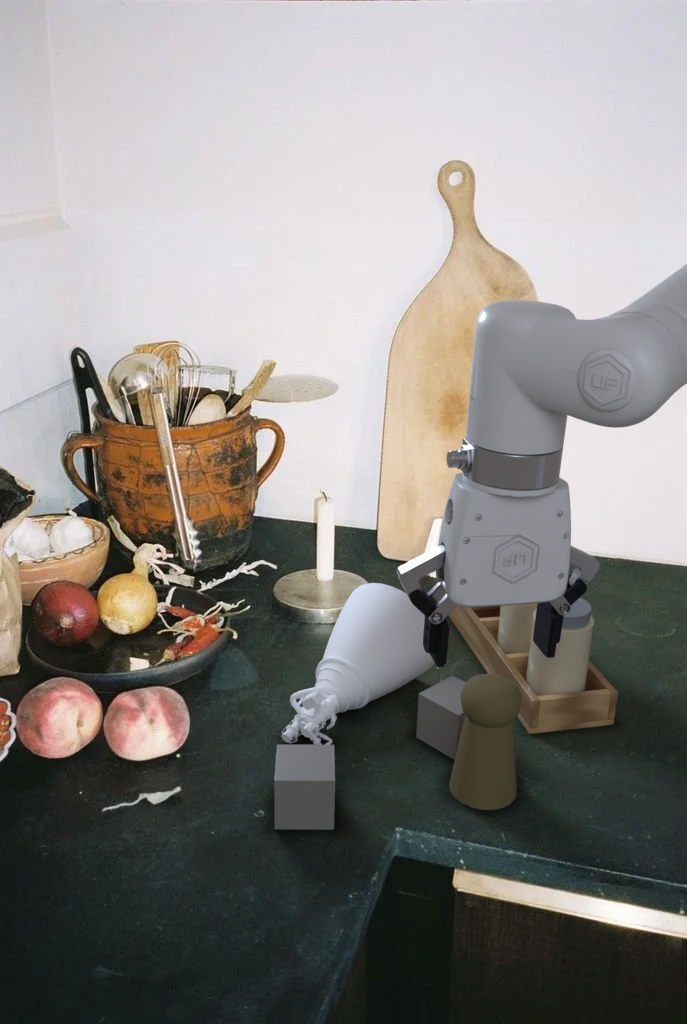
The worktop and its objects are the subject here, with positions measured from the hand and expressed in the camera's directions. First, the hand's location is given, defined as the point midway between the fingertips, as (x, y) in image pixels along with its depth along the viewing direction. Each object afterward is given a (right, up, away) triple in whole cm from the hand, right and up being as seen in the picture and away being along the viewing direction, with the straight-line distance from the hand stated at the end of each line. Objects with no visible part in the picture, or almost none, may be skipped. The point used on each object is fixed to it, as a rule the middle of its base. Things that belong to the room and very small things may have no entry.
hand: (490, 654), depth 80 cm
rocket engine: (-13, -8, +17) cm, 23 cm away
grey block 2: (-2, -10, +12) cm, 16 cm away
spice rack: (+8, -5, +25) cm, 27 cm away
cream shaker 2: (+9, -7, +18) cm, 21 cm away
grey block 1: (-16, -14, +1) cm, 21 cm away
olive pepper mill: (0, -13, +5) cm, 14 cm away
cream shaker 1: (+8, -4, +25) cm, 27 cm away
